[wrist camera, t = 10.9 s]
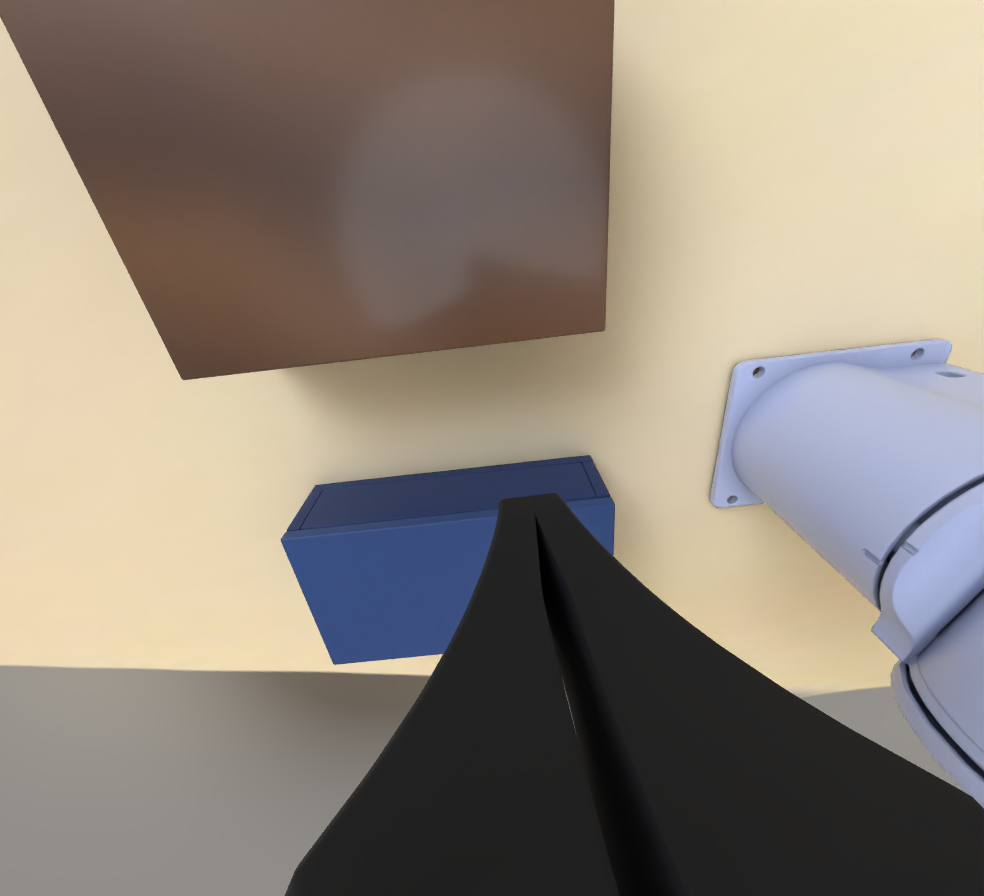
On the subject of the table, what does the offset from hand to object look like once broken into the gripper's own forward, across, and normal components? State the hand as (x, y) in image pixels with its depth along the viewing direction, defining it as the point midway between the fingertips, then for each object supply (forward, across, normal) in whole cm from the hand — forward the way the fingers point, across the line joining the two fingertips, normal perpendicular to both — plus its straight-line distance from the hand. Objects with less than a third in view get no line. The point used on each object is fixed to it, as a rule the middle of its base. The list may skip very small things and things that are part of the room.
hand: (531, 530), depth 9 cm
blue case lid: (+7, +3, +8) cm, 11 cm away
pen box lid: (+6, +4, -8) cm, 11 cm away
